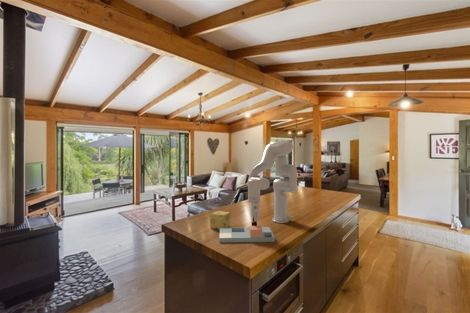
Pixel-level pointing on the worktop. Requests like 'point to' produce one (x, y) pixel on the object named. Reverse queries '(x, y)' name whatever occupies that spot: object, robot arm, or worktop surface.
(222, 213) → the cheese
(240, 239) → the trap deck
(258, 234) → the block
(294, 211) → the worktop surface
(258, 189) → the robot arm
